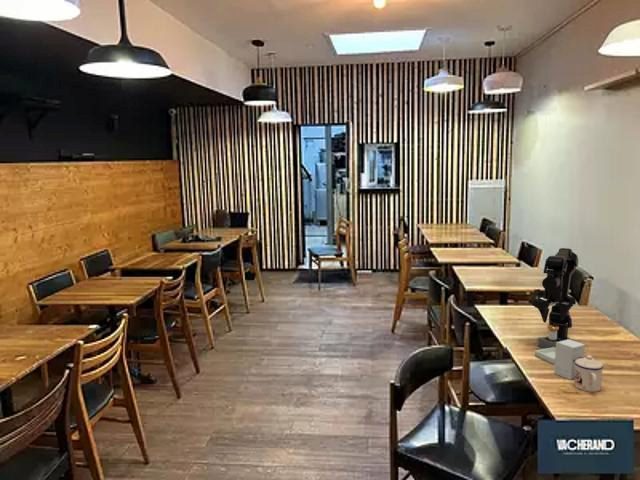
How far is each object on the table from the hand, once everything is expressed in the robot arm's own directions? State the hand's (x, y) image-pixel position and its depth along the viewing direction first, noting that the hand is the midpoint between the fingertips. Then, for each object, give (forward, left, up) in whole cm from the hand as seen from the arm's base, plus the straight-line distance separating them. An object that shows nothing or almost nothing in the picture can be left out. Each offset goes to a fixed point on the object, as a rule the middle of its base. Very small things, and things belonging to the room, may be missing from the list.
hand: (553, 321), depth 221 cm
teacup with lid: (+19, +37, -13) cm, 43 cm away
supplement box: (+16, +25, -13) cm, 32 cm away
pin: (0, 0, -12) cm, 12 cm away
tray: (+9, +10, -12) cm, 18 cm away
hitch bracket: (0, 0, -12) cm, 12 cm away
